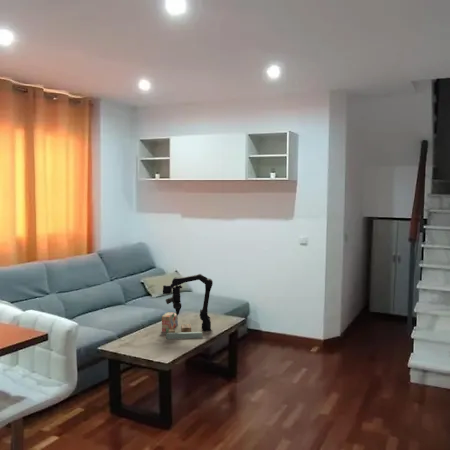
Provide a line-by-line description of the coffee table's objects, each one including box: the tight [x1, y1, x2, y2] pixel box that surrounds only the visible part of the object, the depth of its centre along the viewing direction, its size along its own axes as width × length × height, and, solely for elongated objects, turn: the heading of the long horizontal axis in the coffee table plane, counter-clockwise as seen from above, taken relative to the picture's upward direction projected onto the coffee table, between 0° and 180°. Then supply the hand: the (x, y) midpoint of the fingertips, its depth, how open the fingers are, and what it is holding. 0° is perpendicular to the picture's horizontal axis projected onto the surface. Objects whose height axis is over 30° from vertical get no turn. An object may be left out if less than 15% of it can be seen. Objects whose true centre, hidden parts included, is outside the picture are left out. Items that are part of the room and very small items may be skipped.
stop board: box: [165, 331, 203, 340], centre depth 358 cm, size 26×3×4 cm, turn 97°
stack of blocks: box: [161, 311, 179, 333], centre depth 382 cm, size 21×6×12 cm, turn 169°
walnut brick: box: [180, 323, 192, 332], centre depth 372 cm, size 7×10×5 cm
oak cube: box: [167, 328, 176, 333], centre depth 363 cm, size 4×4×4 cm
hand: (177, 313), depth 377 cm, fingers open, 9 cm apart
